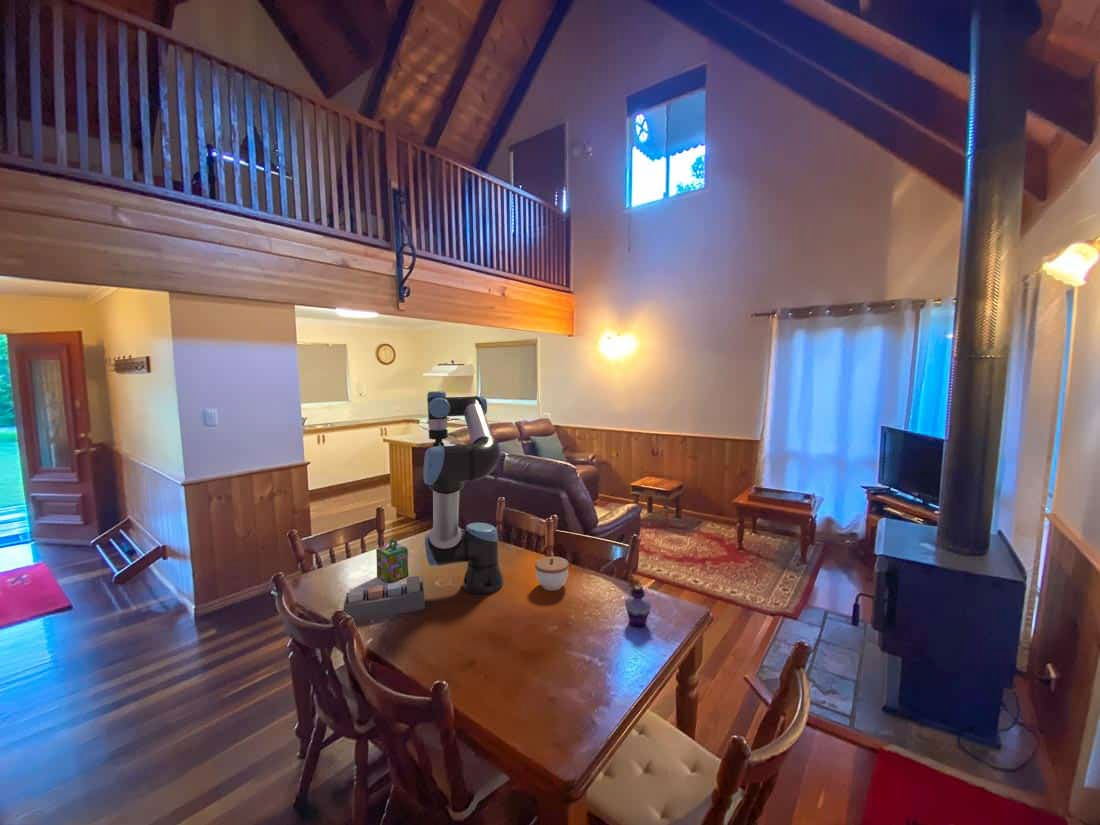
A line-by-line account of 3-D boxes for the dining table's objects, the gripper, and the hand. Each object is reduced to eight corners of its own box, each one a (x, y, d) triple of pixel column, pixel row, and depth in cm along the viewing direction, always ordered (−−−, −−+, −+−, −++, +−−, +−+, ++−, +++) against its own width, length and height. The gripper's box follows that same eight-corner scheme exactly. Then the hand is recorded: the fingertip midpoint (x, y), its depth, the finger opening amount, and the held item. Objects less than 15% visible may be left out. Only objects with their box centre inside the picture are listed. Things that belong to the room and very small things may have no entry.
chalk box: (376, 577, 183) (374, 541, 181) (397, 569, 189) (395, 534, 188) (388, 584, 176) (386, 546, 175) (409, 575, 183) (408, 540, 182)
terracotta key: (383, 599, 160) (382, 584, 159) (382, 605, 155) (382, 590, 155) (369, 601, 158) (368, 586, 158) (368, 608, 154) (368, 592, 153)
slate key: (401, 596, 161) (401, 581, 161) (401, 602, 157) (401, 587, 157) (388, 598, 160) (387, 583, 160) (388, 604, 156) (387, 589, 155)
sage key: (419, 590, 163) (419, 575, 163) (420, 595, 159) (419, 581, 159) (407, 592, 162) (406, 577, 161) (407, 598, 158) (406, 583, 157)
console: (423, 595, 167) (422, 581, 166) (424, 609, 157) (424, 593, 157) (347, 608, 159) (346, 592, 158) (344, 622, 149) (343, 606, 149)
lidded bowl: (569, 579, 178) (569, 551, 177) (567, 594, 166) (567, 565, 165) (537, 578, 179) (537, 551, 178) (533, 593, 167) (532, 564, 166)
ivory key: (364, 602, 158) (363, 587, 157) (363, 608, 153) (362, 593, 153) (350, 604, 156) (349, 589, 156) (349, 611, 152) (348, 595, 152)
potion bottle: (641, 613, 152) (641, 579, 151) (656, 627, 144) (657, 590, 143) (619, 619, 149) (619, 583, 148) (633, 633, 141) (633, 595, 140)
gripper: (427, 427, 192) (429, 482, 194) (429, 431, 180) (432, 490, 182) (445, 426, 195) (447, 480, 197) (449, 430, 182) (451, 488, 184)
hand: (440, 485), depth 189 cm, fingers closed
